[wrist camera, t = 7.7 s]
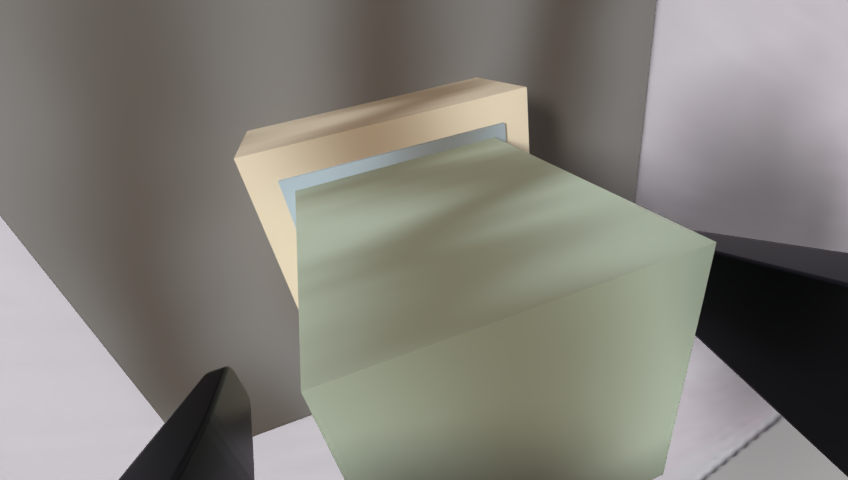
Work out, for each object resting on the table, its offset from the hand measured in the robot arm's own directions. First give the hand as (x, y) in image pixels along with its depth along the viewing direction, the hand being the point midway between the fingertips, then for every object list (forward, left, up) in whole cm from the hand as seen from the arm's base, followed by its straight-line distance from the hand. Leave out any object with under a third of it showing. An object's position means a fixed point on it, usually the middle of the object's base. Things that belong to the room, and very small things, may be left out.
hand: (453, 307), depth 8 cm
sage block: (0, 0, -3) cm, 3 cm away
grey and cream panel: (0, 0, -7) cm, 7 cm away
